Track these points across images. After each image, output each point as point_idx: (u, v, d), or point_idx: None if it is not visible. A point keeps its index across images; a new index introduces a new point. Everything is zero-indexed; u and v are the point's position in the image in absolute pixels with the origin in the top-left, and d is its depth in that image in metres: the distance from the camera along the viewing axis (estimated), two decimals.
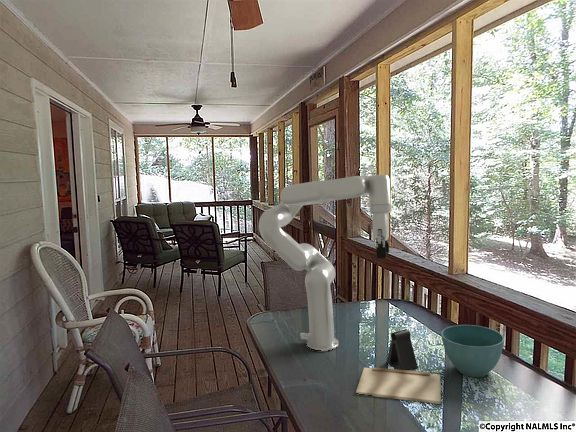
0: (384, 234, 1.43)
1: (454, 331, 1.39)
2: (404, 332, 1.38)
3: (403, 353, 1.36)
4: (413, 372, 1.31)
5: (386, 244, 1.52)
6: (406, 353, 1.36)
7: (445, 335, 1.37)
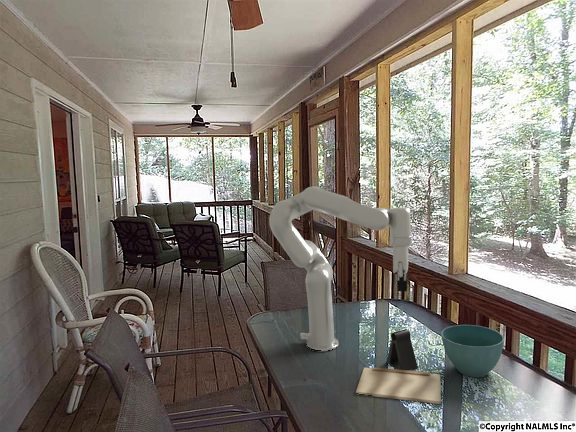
0: (405, 271, 1.46)
1: (454, 331, 1.39)
2: (404, 332, 1.38)
3: (403, 353, 1.36)
4: (413, 372, 1.31)
5: None
6: (406, 353, 1.36)
7: (445, 335, 1.37)
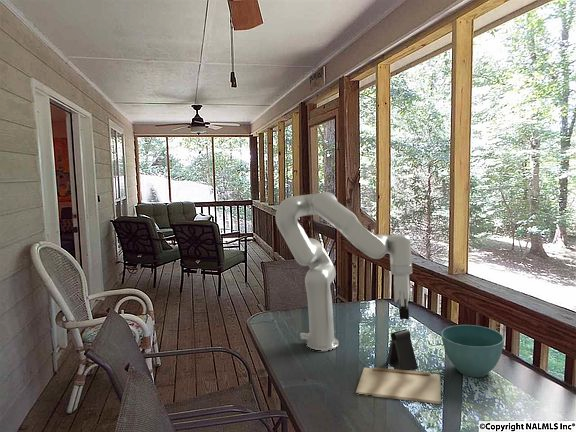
0: (407, 301, 1.44)
1: (454, 331, 1.39)
2: (404, 332, 1.38)
3: (403, 353, 1.36)
4: (413, 372, 1.31)
5: None
6: (406, 353, 1.36)
7: (445, 335, 1.37)
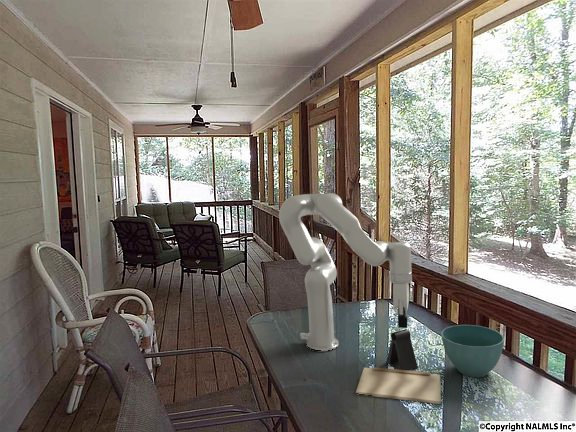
0: (405, 309, 1.42)
1: (454, 331, 1.39)
2: (404, 332, 1.38)
3: (403, 353, 1.36)
4: (413, 372, 1.31)
5: None
6: (406, 353, 1.36)
7: (445, 335, 1.37)
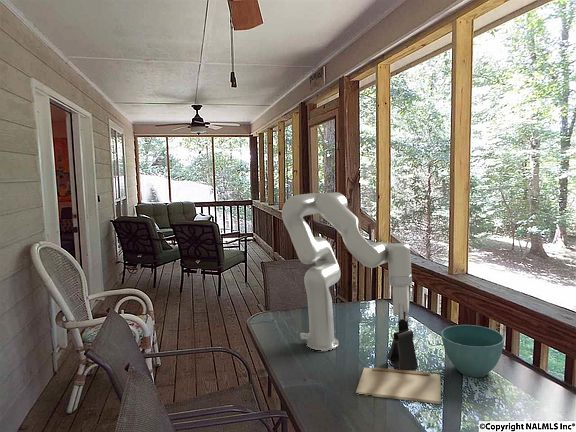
0: (406, 314, 1.36)
1: (454, 331, 1.39)
2: (407, 332, 1.36)
3: (404, 353, 1.35)
4: (413, 372, 1.31)
5: None
6: (407, 353, 1.35)
7: (445, 335, 1.37)
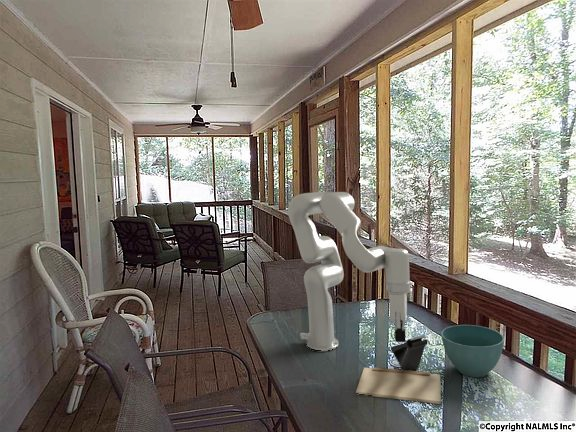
0: (403, 322, 1.30)
1: (454, 331, 1.39)
2: (422, 342, 1.30)
3: (411, 358, 1.32)
4: (413, 372, 1.31)
5: None
6: (414, 358, 1.33)
7: (445, 335, 1.37)
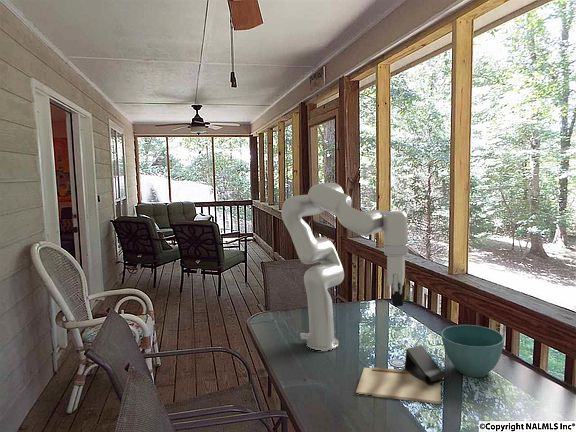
0: (401, 285, 1.28)
1: (454, 331, 1.39)
2: (439, 381, 1.24)
3: None
4: None
5: None
6: None
7: (445, 335, 1.37)
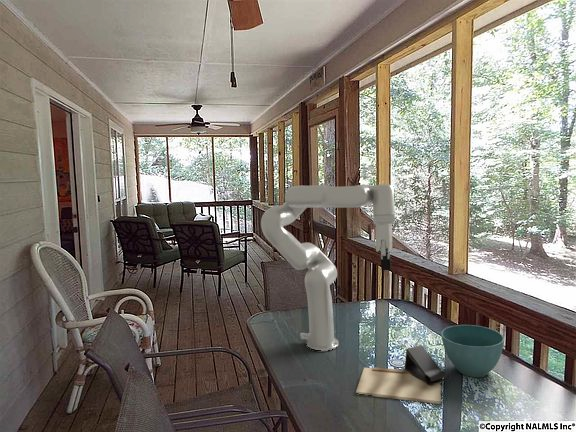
0: (388, 250, 1.42)
1: (454, 331, 1.39)
2: (439, 381, 1.24)
3: None
4: None
5: None
6: None
7: (445, 335, 1.37)
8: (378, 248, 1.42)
